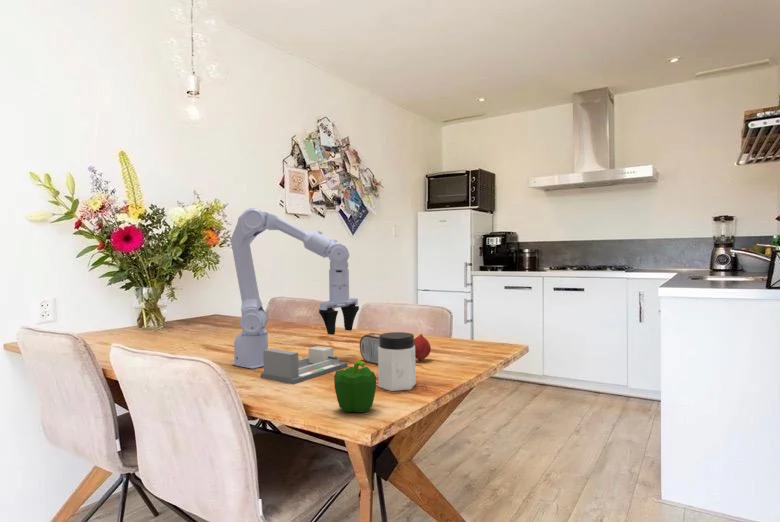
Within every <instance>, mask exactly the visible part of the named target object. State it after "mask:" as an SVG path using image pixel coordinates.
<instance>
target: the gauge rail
mask: <svg viewBox="0 0 780 522" xmlns="http://www.w3.org/2000/svg"><path fill="white" fill-rule="evenodd" d="M263 354H264V366H263V372H261V373H260V378H264V379H267V380H272V381H277V382H281V383H282V382H283V383H287V384H292V385H295V384H298V383H301V382H305V381H307V380H311V379H313V378H317V377H320V376H323V375H326V374H330V373H332V372H336V371H339V370H343V369H344V368H345V369H346V367H347V368H348V362H343V361H340V357H338V356H337V358H338V359H329V360H326V361H322V362H319V363H315V364H313V363H309V356H306V357H304V358H303V357H302V358H300V359H299V352H295V351H290V350H284V349H278V348H277V349H276V348H268V349H266V350H263Z"/></svg>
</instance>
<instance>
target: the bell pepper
mask: <svg viewBox="0 0 780 522" xmlns="http://www.w3.org/2000/svg"><path fill="white" fill-rule="evenodd" d="M359 367H361V368H359ZM333 380H334V390H335V394H336V395H335V396H336V400H337V404H338V407H339V408H340V409H341V411H343V412H345V413H350V412H356V413H364V412H368V411H369V410H371V408H372V406H373V405H374V400H375V396H376V390H377V389H376V388H377V377H376V374H375V372H374V371H372V370H371V369H370V368H369V367H368V366H366V362H364V361H361V360H358V361H355V362H354V364H353V366H349V367H347V368H345V369H339V370H335V373H334V377H333Z"/></svg>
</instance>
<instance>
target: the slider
mask: <svg viewBox="0 0 780 522" xmlns="http://www.w3.org/2000/svg"><path fill="white" fill-rule="evenodd" d="M334 350H335V349H334V347H330V346H329V347H328V346H321V345H317V346H311V347H309V348H308V357H309V363H313V364H315V363H319V362H322V361H326V360H329V359H338V358H337V357H338V356H337V357H335V356H334Z"/></svg>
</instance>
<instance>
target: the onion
mask: <svg viewBox="0 0 780 522" xmlns="http://www.w3.org/2000/svg"><path fill="white" fill-rule="evenodd" d="M414 345H415V360H416V359H417V360H418V361H420V362H423V361H424V360H425V359H426V358H427V357H428V356H429V355H430V353H431V350H432V349H431V347H432V346H431V344H430V342H429V340H428V339H427V338H425V337H424V335H423V333H419V334H418V335H417V337H415V338H414Z"/></svg>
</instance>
